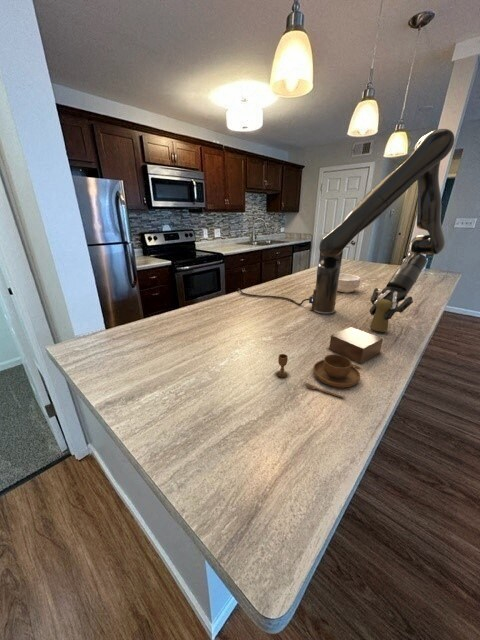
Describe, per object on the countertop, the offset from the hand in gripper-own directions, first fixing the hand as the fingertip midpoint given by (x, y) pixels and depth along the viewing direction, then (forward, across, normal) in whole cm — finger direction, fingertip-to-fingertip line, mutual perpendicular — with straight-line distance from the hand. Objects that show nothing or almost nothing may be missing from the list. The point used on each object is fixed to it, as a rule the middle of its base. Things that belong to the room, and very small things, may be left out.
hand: (378, 316), depth 95 cm
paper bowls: (-22, -41, +32) cm, 56 cm away
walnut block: (+18, +4, -9) cm, 21 cm away
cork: (+2, 0, +5) cm, 6 cm away
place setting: (+31, +6, -22) cm, 39 cm away
